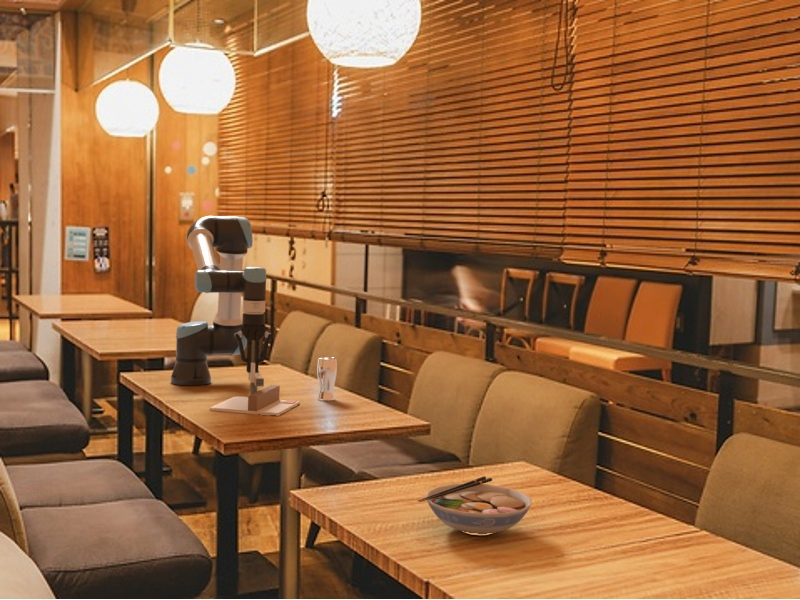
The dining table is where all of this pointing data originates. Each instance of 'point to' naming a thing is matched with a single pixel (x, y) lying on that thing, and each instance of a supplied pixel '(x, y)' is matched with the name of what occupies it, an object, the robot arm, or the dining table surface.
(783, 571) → the dining table surface
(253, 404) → the lock base
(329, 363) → the beer glass
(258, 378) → the swing bar
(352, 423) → the dining table surface
